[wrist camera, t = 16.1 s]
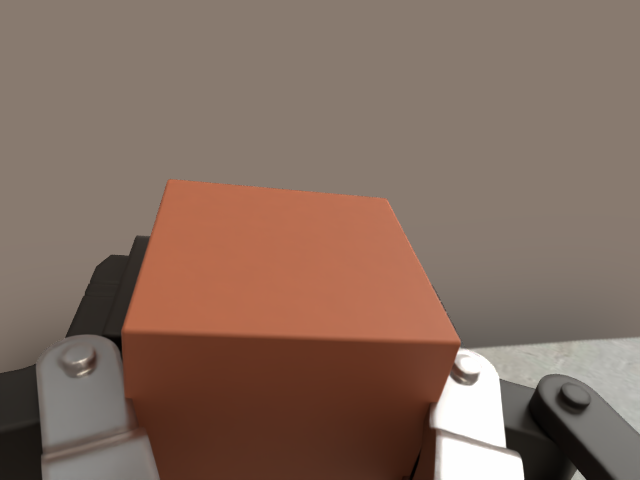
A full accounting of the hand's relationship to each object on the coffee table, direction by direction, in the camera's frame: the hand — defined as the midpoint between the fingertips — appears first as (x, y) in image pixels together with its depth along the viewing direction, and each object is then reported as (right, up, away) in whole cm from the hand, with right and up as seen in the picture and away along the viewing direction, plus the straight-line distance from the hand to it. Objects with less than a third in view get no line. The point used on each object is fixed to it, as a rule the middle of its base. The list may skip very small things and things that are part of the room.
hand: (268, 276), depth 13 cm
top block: (-1, -7, +1) cm, 7 cm away
